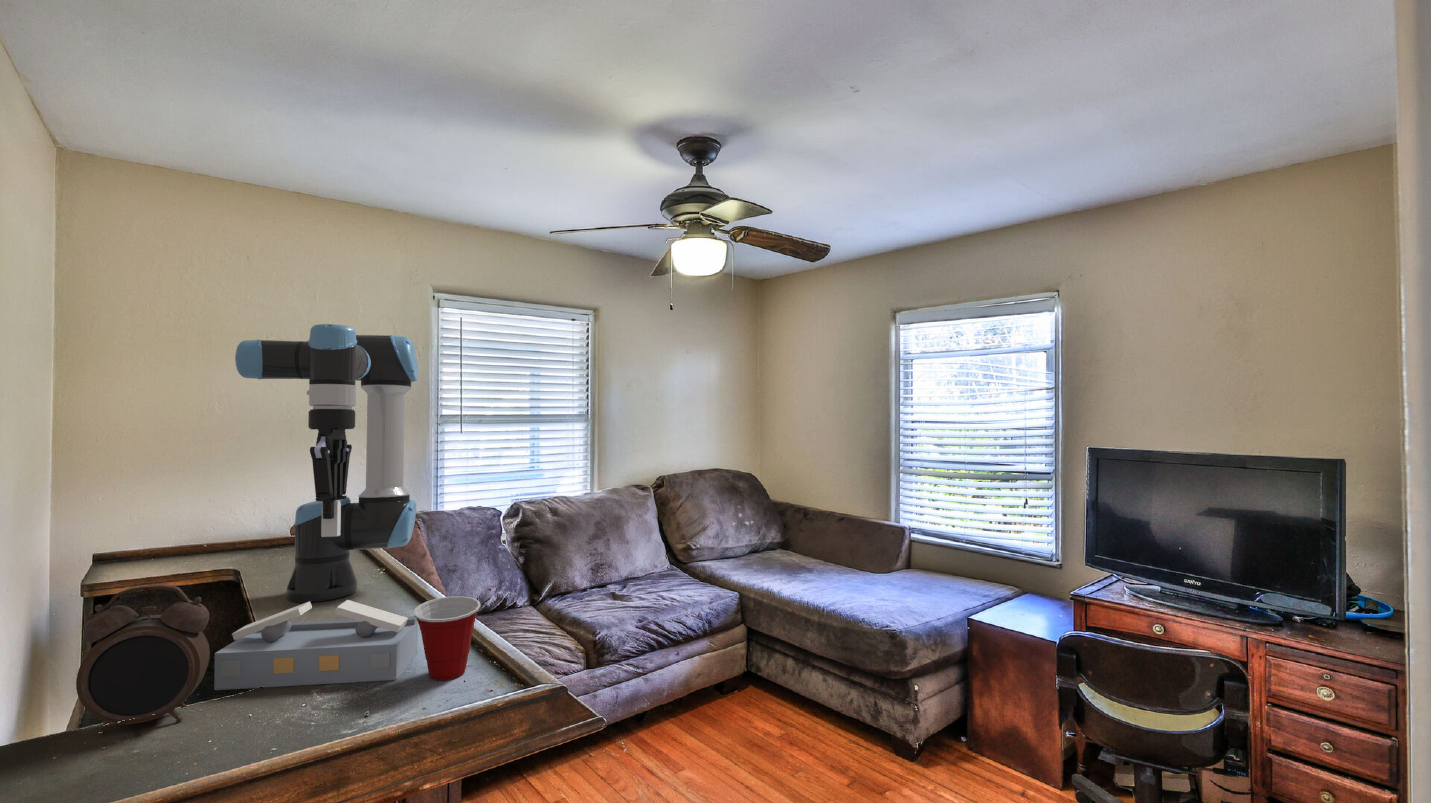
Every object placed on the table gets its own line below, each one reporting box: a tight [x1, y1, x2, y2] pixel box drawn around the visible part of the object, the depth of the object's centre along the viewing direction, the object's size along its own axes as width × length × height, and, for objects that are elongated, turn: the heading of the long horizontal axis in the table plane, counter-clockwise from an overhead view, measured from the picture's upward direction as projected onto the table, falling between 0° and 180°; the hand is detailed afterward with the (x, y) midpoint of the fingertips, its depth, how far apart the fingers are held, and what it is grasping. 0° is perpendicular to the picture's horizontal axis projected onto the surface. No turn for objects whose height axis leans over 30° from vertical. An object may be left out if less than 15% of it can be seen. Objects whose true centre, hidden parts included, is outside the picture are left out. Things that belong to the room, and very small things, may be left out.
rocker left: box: [231, 601, 313, 642], centre depth 114 cm, size 4×11×4 cm, turn 98°
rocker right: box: [334, 599, 408, 637], centre depth 117 cm, size 4×11×4 cm, turn 99°
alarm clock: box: [75, 584, 211, 733], centre depth 96 cm, size 15×7×20 cm, turn 117°
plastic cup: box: [413, 595, 481, 681], centre depth 114 cm, size 11×11×12 cm
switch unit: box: [213, 615, 419, 691], centre depth 115 cm, size 12×28×7 cm, turn 99°
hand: (330, 535), depth 121 cm, fingers closed
